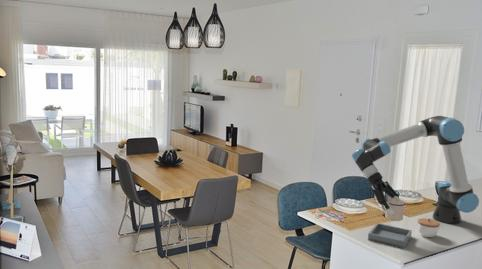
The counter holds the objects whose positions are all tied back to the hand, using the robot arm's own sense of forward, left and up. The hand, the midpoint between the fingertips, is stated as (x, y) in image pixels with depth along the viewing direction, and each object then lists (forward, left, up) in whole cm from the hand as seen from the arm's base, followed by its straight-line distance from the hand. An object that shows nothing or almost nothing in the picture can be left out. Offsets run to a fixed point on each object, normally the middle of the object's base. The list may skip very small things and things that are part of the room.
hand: (397, 212), depth 213 cm
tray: (+3, -1, -15) cm, 16 cm away
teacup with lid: (+3, -1, -4) cm, 5 cm away
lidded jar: (-13, -17, -15) cm, 26 cm away
